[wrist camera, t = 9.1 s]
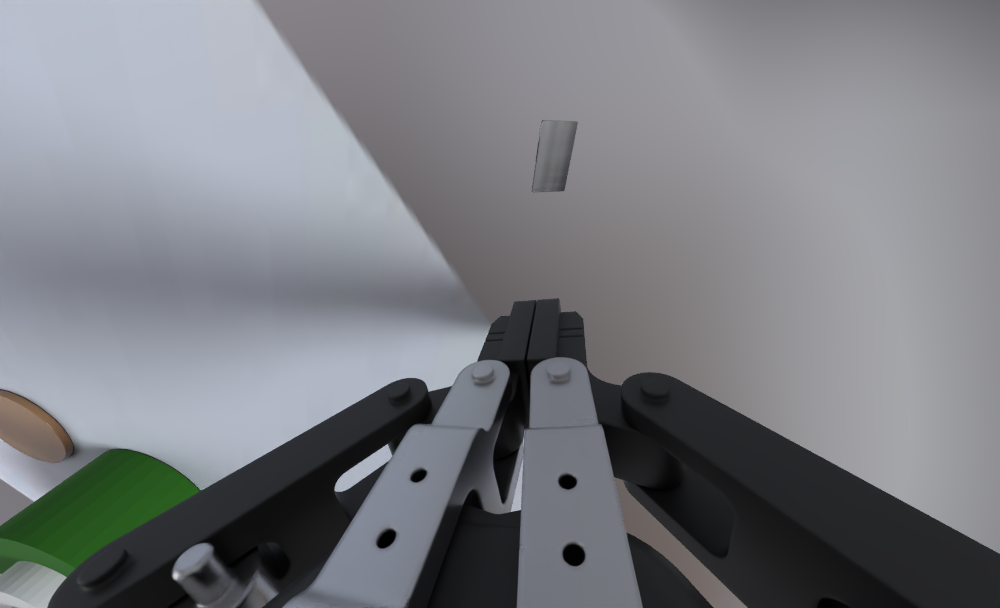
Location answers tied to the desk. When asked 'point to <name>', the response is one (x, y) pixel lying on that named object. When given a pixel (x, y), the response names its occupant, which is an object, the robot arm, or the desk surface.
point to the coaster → (32, 430)
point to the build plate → (553, 155)
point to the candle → (82, 522)
